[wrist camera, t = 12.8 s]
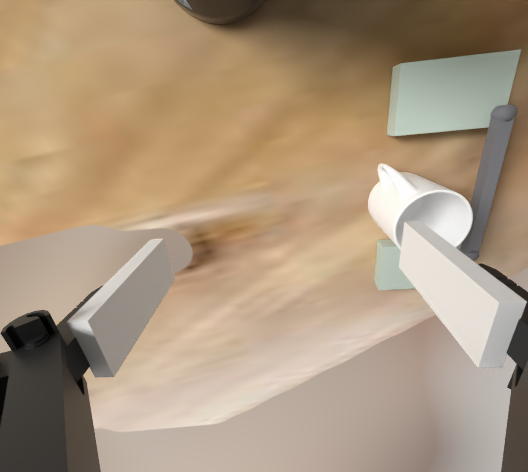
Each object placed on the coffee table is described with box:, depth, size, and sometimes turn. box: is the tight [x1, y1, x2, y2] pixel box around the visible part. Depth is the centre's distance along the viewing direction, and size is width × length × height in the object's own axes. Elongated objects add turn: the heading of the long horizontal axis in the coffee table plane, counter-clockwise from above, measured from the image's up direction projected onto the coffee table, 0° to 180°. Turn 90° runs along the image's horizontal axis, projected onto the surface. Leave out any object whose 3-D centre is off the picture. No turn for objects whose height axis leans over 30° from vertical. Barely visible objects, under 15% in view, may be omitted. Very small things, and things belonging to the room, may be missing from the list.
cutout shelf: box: [374, 49, 521, 290], centre depth 38 cm, size 32×13×4 cm, turn 5°
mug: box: [368, 163, 473, 250], centre depth 35 cm, size 9×12×11 cm
